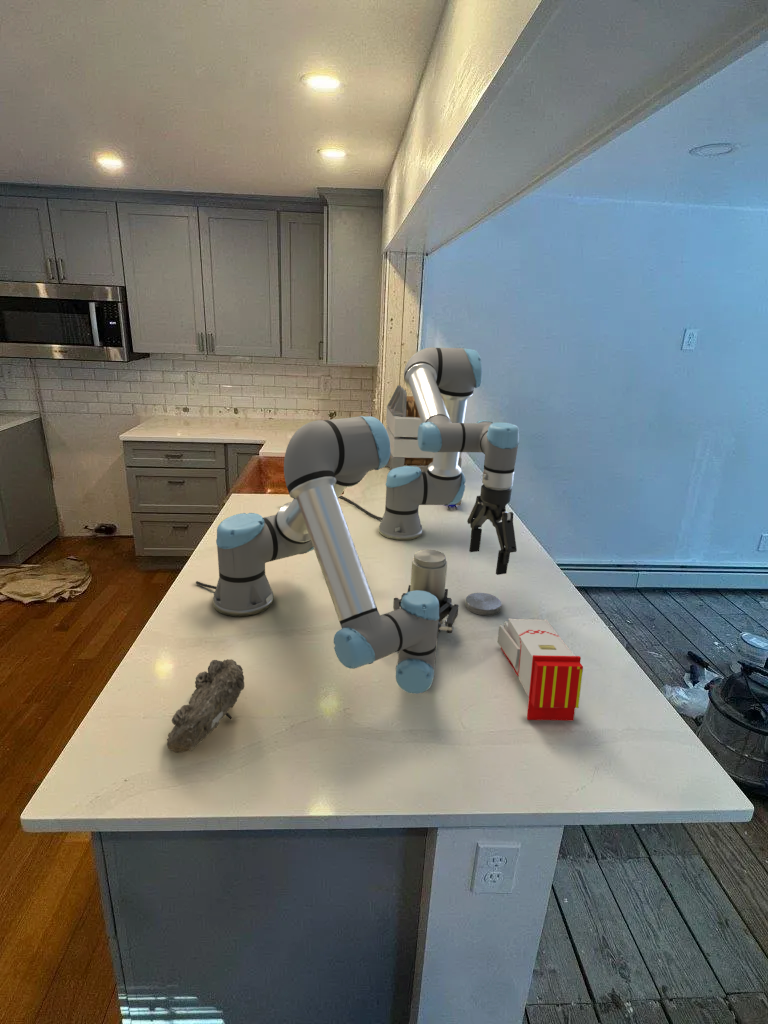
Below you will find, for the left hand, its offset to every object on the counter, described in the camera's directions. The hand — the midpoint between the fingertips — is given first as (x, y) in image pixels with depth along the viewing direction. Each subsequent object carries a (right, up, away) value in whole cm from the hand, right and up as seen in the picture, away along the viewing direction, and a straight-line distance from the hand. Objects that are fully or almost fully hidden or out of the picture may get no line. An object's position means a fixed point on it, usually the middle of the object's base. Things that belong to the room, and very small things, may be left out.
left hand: (428, 591), depth 146 cm
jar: (-1, -8, -2) cm, 8 cm away
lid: (+15, -4, +7) cm, 17 cm away
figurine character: (+16, +23, +85) cm, 90 cm away
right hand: (+16, +7, +3) cm, 18 cm away
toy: (+21, -16, -22) cm, 34 cm away
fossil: (-44, -19, -38) cm, 61 cm away
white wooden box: (+6, +39, +129) cm, 135 cm away
